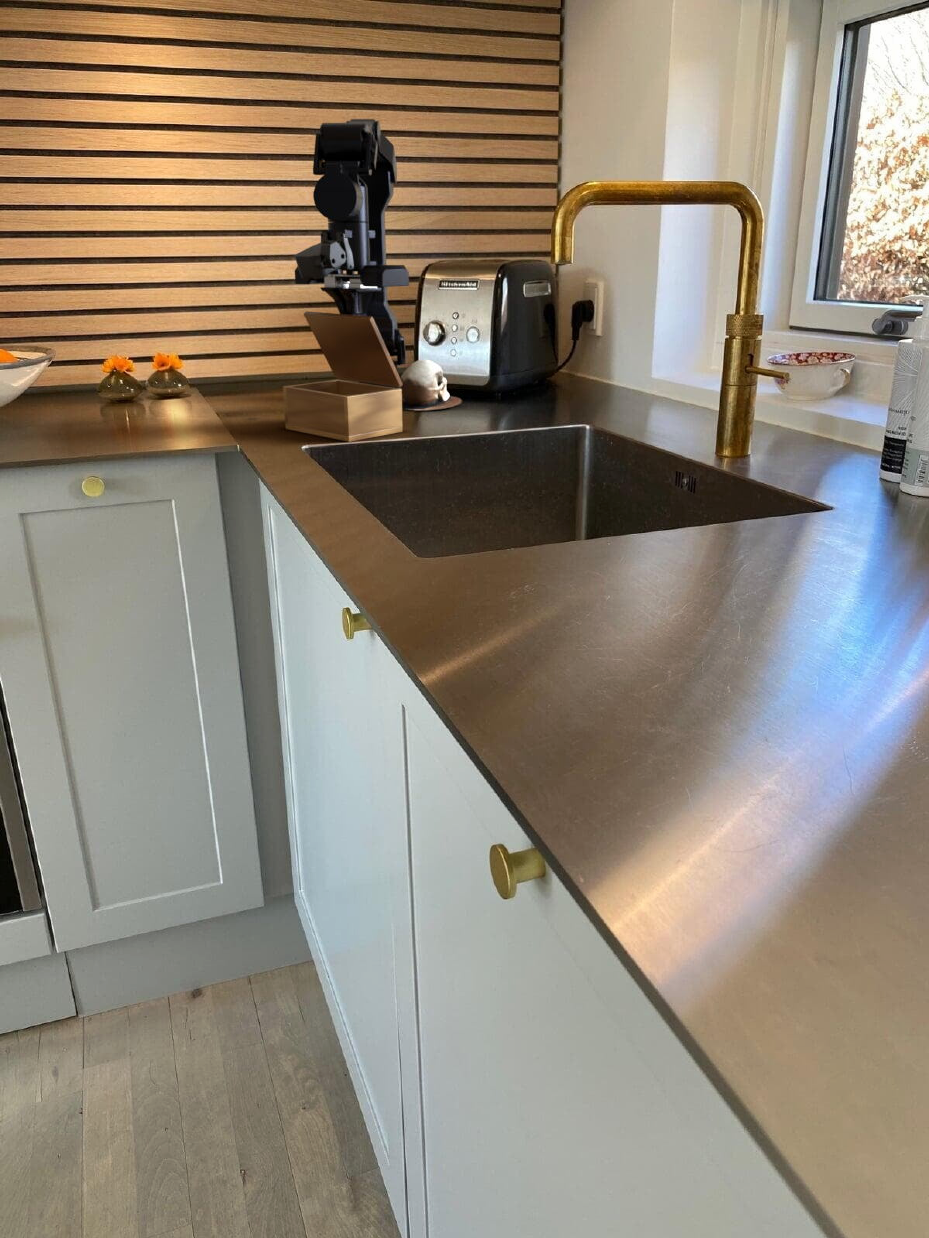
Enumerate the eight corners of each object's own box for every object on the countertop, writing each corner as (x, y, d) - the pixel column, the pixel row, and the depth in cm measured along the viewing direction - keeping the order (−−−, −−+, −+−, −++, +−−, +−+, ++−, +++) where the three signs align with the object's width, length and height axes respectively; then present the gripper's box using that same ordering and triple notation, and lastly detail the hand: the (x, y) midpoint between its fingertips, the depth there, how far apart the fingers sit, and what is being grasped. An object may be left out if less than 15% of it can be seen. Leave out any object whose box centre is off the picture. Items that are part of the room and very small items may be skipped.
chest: (349, 442, 133) (347, 397, 131) (285, 428, 142) (282, 386, 140) (402, 431, 141) (401, 388, 138) (339, 419, 150) (337, 379, 147)
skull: (419, 390, 171) (449, 350, 164) (451, 434, 169) (482, 395, 162) (373, 396, 162) (402, 353, 156) (405, 442, 160) (436, 401, 154)
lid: (369, 319, 130) (372, 316, 131) (303, 313, 140) (306, 311, 140) (400, 387, 138) (403, 384, 138) (335, 378, 147) (338, 375, 147)
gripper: (261, 222, 133) (269, 337, 138) (349, 220, 121) (354, 345, 127) (322, 224, 140) (327, 333, 146) (410, 222, 129) (412, 340, 134)
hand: (352, 337), depth 138 cm, fingers closed, pressing on lid
